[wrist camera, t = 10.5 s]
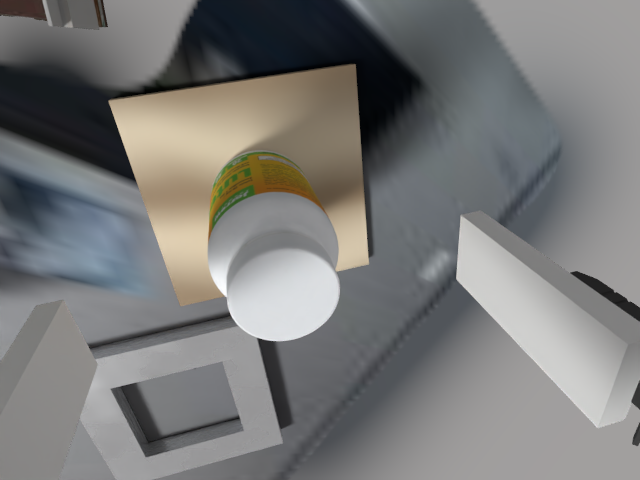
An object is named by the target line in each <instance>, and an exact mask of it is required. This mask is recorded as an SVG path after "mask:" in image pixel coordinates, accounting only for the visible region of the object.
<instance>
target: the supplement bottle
mask: <svg viewBox="0 0 640 480" xmlns="http://www.w3.org/2000/svg"><path fill="white" fill-rule="evenodd" d="M338 254H339V247H338V239H337V235H336V232H335V230H334V227H333V225H332V223H331V221H330V219H329V217H328V215H327V214H326V212H325V210H324V208H323V207H322V205H321V203H320V201H319V200H318V198H317V196H316V194H315V192H314V191H313V189H312V187H311V185H310V183H309V181H308V180H307V178H306V176H305V174H304V173H303V171H302V170H301V169H300V168H299V166H298V165H297V164H296V163H294V162H293V161H292V160H291V159H289V158H288V157H286V156H284V155H282V154H280V153H277V152H273V151H267V150H254V151H249V152H245V153H242V154H240V155H238V156H236V157H234V158H233V159H231V160H230V161H229V162H227V163H226V164H225V165H224V166H223V167H222V168H221V170H220V171H219V173H218V174H217V176H216V178H215V180H214V183H213V186H212V190H211V197H210V213H209V232H208V265H209V270H210V273H211V276H212V279H213V281H214V283H215V284H216V286H217V287H218V289H219V290H220V291H221V292H222V293H223V294H224V295H225V296H226V297H227V304H228V308H229V311H230V314H231V316H232V318H233V319H234V321H235V322H236V323H237V325H238V326H239V327H240V328H241V329H243V330H244V331H245V332H247V333H248V334H250V335H252V336H254V337H257V338H260V339H263V340H269V341H286V340H292V339H297V338H300V337H302V336H305V335H307V334H309V333H311V332H313V331H315V330H316V329H318V328H319V327H320V326H322V325H323V324H324V323H325V322H326V321H327V320H328V319H329V317H330V316H331V315H332V313H333V312H334V310H335V308H336V306H337V303H338V300H339V296H340V282H339V278H338V275H337V272H336V270H335V269H336V266H337V262H338Z"/></svg>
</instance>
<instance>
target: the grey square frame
mask: <svg viewBox="0 0 640 480" xmlns="http://www.w3.org/2000/svg"><path fill="white" fill-rule="evenodd" d="M90 351H91V352H92V354H93V356H94V358H95V360H96V362H97V364H98V366H97V369H96V372H95V375H94V378H93V381H92V384H91V387H90V389H89V392H88V395H87V398H86V401H85V404H84V407H83V410H82V413H81V416H80V420H81V422H82V423H83V425H84V427H85V428H86V430H87V432H88V433H89V435H90V437H91V438H92V440H93V442H94V443H95V445H96V447H97V448H98V450H99V452H100V453H101V455H102V457H103V458H104V460H105V462H106V463H107V465H108V467H109V468H110V470H111V472H112V473H113V475H114V477H115V478H116V480H153V479H157V478H160V477H164V476H167V475H171V474H174V473H178V472H182V471H185V470H189V469H192V468H196V467H199V466H203V465H207V464H210V463H214V462H217V461H221V460H224V459H228V458H232V457H235V456H239V455H242V454H246V453H249V452H253V451H257V450H260V449H264V448H267V447H271V446H274V445H278V444H282V443H283V441H282V434H281V429H280V425H279V421H278V416H277V412H276V408H275V404H274V400H273V396H272V392H271V388H270V384H269V380H268V376H267V372H266V368H265V364H264V360H263V356H262V351H261V347H260V343H259V339H258V338H257V337H254V336H252V335H250V334H248V333H247V332H245V331H244V330H243V329H241V328H240V327H239V326H238V325H237V323H236V322H235V321H234V319H233V318H232V316H229V317H224V318H220V319H216V320H211V321H207V322H203V323H198V324H194V325H190V326H185V327H181V328H177V329H172V330H168V331H164V332H159V333H155V334H150V335H146V336H142V337H137V338H133V339H129V340H124V341H120V342H116V343H111V344H107V345H103V346H98V347H94V348H90ZM221 361H222V362H223V365H224V368H225V372H226V375H227V378H228V381H229V384H230V388H231V391H232V394H233V397H234V400H235V403H236V407H237V410H238V413H239V416H240V418H239V419H235V420H232V421H228V422H224V423H220V424H217V425H213V426H209V427H205V428H202V429H198V430H194V431H190V432H187V433H183V434H179V435H175V436H172V437H168V438H164V439H160V440H157V441H153V442H149V443H148V441H147V439H146V437H145V435H144V433H143V431H142V429H141V427H140V425H139V423H138V421H137V419H136V417H135V415H134V413H133V411H132V409H131V407H130V405H129V403H128V401H127V399H126V397H125V395H124V393H123V391H122V389H121V387H120V386H124V385H128V384H132V383H136V382H140V381H144V380H148V379H152V378H156V377H160V376H164V375H168V374H173V373H177V372H181V371H185V370H189V369H193V368H197V367H201V366H205V365H209V364H213V363H217V362H221Z"/></svg>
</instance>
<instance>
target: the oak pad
mask: <svg viewBox="0 0 640 480" xmlns="http://www.w3.org/2000/svg"><path fill="white" fill-rule="evenodd" d="M109 104H110V107H111V109H112V112H113V115H114V118H115V121H116V124H117V127H118V129H119V132H120V135H121V138H122V141H123V144H124V147H125V149H126V152H127V155H128V158H129V161H130V164H131V167H132V169H133V172H134V175H135V178H136V181H137V184H138V187H139V189H140V192H141V195H142V198H143V201H144V204H145V207H146V209H147V212H148V215H149V218H150V221H151V224H152V227H153V229H154V232H155V235H156V238H157V241H158V244H159V247H160V249H161V252H162V255H163V258H164V261H165V264H166V267H167V269H168V272H169V275H170V278H171V281H172V284H173V287H174V289H175V292H176V295H177V298H178V301H179V304H180V306H183V305H188V304H192V303H197V302H201V301H206V300H210V299H215V298H219V297H224V296H225V295H224V294H223V293H222V292H221V291H220V290H219V289H218V287H217V286H216V284H215V283H214V281H213V279H212V276H211V273H210V270H209V265H208V232H209V213H210V197H211V190H212V186H213V183H214V180H215V178H216V176H217V174H218V173H219V171H220V170H221V168H222V167H223V166H224V165H225V164H226V163H227V162H229V161H230V160H231V159H233V158H234V157H236V156H238V155H240V154H242V153H245V152H249V151H254V150H267V151H273V152H277V153H280V154H282V155H284V156H286V157H288V158H289V159H291V160H292V161H293V162H294V163H296V164H297V165H298V166H299V168H300V169H301V170H302V171H303V173H304V174H305V176H306V178H307V180H308V181H309V183H310V185H311V187H312V189H313V191H314V192H315V194H316V196H317V198H318V200H319V201H320V203H321V205H322V207H323V208H324V210H325V212H326V214H327V215H328V217H329V219H330V221H331V223H332V225H333V227H334V230H335V232H336V235H337V239H338V247H339V254H338V262H337V266H336V269H335V270H336V271H341V270H345V269H350V268H354V267H359V266H363V265H368V264H369V259H368V244H367V229H366V214H365V199H364V184H363V169H362V153H361V138H360V123H359V108H358V93H357V78H356V64H346V65H339V66H332V67H325V68H318V69H312V70H305V71H298V72H291V73H285V74H278V75H271V76H264V77H257V78H251V79H244V80H237V81H230V82H223V83H217V84H210V85H203V86H196V87H189V88H183V89H176V90H169V91H162V92H156V93H149V94H142V95H135V96H128V97H122V98H115V99H111V100H109Z"/></svg>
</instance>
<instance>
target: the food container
mask: <svg viewBox="0 0 640 480" xmlns="http://www.w3.org/2000/svg"><path fill="white" fill-rule="evenodd" d="M1 15H4V16H17V17H26V18H34V19H37V20H45V21H48V25H49V26H61V27H71V28H83V29H96V30H99V27H108V26H107V20H106V15H105V10H104V5H103V0H0V16H1Z"/></svg>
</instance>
